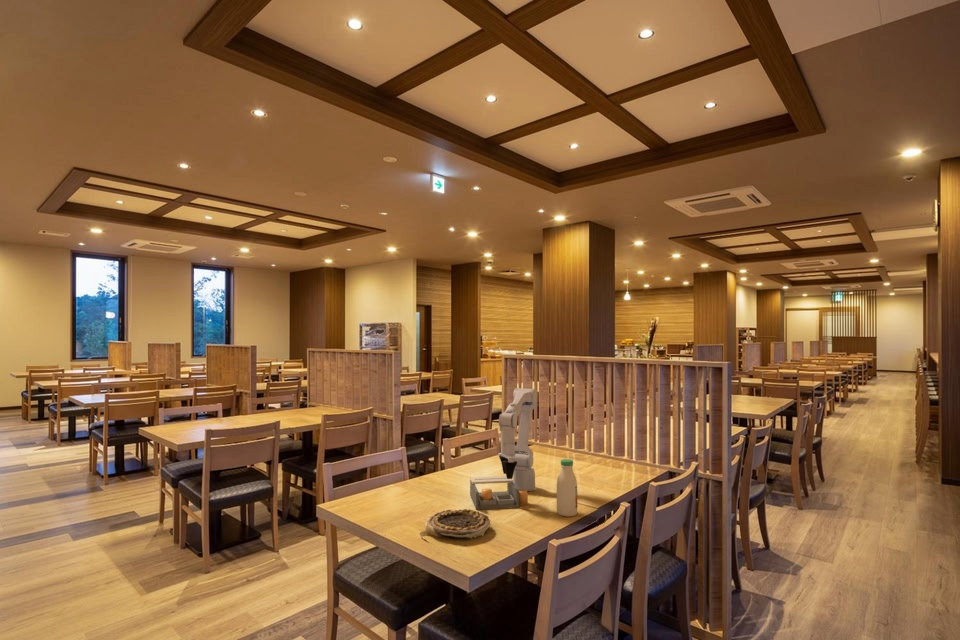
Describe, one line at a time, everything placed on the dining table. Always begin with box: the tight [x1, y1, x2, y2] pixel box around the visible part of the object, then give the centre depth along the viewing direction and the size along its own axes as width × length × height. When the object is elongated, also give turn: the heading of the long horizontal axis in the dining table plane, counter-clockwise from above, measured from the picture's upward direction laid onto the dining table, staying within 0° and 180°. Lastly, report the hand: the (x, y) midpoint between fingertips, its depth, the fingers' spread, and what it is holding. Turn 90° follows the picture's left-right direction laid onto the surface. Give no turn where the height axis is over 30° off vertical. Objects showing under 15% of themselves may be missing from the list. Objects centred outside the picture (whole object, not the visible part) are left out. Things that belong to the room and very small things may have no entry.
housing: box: [469, 479, 520, 511], centre depth 203 cm, size 17×18×7 cm
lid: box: [469, 475, 513, 485], centre depth 209 cm, size 17×7×1 cm, turn 98°
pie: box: [419, 508, 491, 543], centre depth 172 cm, size 28×27×5 cm
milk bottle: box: [556, 458, 578, 517], centre depth 189 cm, size 8×8×20 cm
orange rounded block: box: [519, 490, 529, 506], centre depth 200 cm, size 4×4×5 cm
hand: (507, 476), depth 204 cm, fingers open, 7 cm apart
